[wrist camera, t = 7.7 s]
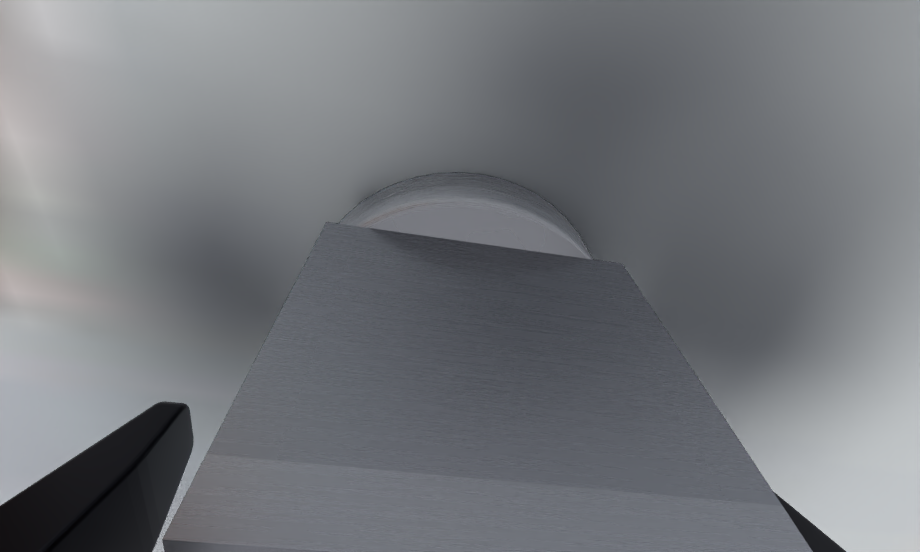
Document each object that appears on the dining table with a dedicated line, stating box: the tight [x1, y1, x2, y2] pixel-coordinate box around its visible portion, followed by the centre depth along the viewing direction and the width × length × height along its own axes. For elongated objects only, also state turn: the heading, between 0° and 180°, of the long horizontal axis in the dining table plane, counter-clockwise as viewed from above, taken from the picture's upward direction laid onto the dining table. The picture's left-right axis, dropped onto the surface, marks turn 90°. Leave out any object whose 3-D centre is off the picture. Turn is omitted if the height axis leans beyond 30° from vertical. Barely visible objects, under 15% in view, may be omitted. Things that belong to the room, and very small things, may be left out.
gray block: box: [162, 222, 813, 552], centre depth 8 cm, size 6×6×6 cm
